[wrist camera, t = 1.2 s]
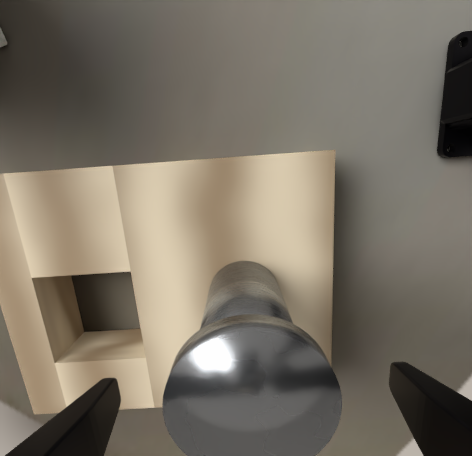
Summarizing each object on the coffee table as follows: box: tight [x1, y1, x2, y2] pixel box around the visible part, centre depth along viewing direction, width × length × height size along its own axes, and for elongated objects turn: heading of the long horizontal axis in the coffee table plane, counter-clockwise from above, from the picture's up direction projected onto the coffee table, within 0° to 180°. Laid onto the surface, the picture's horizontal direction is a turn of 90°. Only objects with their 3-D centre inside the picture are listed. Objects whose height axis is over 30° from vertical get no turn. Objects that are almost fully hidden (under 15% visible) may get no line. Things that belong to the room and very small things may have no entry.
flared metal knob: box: [162, 261, 342, 456], centre depth 11 cm, size 5×5×7 cm
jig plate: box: [0, 150, 335, 414], centre depth 16 cm, size 19×15×3 cm
